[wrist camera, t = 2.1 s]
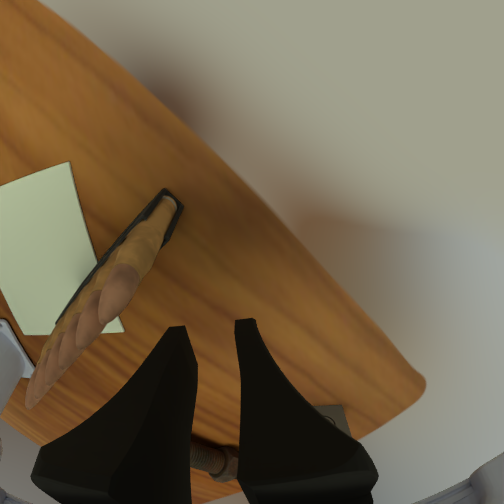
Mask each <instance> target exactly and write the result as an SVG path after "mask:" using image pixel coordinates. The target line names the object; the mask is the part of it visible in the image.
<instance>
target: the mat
mask: <svg viewBox="0 0 504 504" xmlns="http://www.w3.org/2000/svg"><path fill="white" fill-rule="evenodd" d="M97 263H98V260H97V257H96V254H95V251H94V248H93V245H92V242H91V239H90V236H89V232H88V229H87V226H86V223H85V219H84V216H83V212H82V208H81V205H80V201H79V197H78V194H77V190H76V186H75V182H74V177H73V173H72V169H71V164H70V161H69V162H65V163H62V164H59V165H56V166H53V167H50V168H47V169H45V170H42V171H39V172H36V173H33V174H31V175H28V176H25V177H23V178H20V179H17V180H15V181H12V182H10V183H7V184H5V185H2V186H0V288H1V291H2V293H3V295H4V297H5V299H6V301H7V303H8V305H9V307H10V309H11V311H12V313H13V315H14V317H15V319H16V321H17V323H18V325H19V326H20V328H21V330H22V332H23V334H24V335H50V334H51V332H52V331H53V329H54V328H55V326H56V325H55V322H56V320H57V319H58V317H59V316H60V314H61V313H62V311H63V310H64V308H65V307H66V305H67V304H68V302H69V301H70V299H71V298H72V296H73V295H74V293H75V292H76V290H77V289H78V287H79V286H80V285H81V283H82V282H83V281H84V279H85V278H86V277H87V276H88V274H89V273H90V272H91V271H92V269H93V268H94V267H95V266H96V264H97ZM124 331H125V330H124V327H123V325H122V323H121V320H120V318H119V316H117V317H116V318H115V319H114V320H113V321H111V322H109V323H107V325H106V326H105V328H104V329H103V331H102V332H101V333H115V332H124Z"/></svg>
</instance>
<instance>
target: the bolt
mask: <svg viewBox="0 0 504 504" xmlns="http://www.w3.org/2000/svg"><path fill="white" fill-rule="evenodd" d="M238 456H239V453H238V452H237V451H236V450H235V449H233V448H230V447H227V446H225V447H220V448H218V449H213V448H210V447H207V446H204V445H201V444H198V443H195V442H192V441H190V467H192V468H195V469H199V470H203V471H206V472H209V475H210V476H211V477H212V478H213V480H214V481H217V482H222V483H223V482H228V481H231V480H233V479H237V469H238Z"/></svg>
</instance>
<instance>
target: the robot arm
mask: <svg viewBox="0 0 504 504" xmlns="http://www.w3.org/2000/svg"><path fill="white" fill-rule="evenodd" d="M234 334H235V341H236V348H237V355H238V361H239V368H240V377H241V414H240V440H239V456H238V469H237V480H238V482H239V484H240V486H241V488H242V490H243V492H244V494H245V495H246V498H247V499H248V501H249V503H250V504H373V498H372V495H371V490H372V488H373V487H374V485H375V484H376V482H377V480H378V477H379V475H378V472H377V469H376V467H375V465H374V463H373V461H372V459H371V458H370V456H369V455H368V453H367V451H366V450H365V449H364V447H363V446H362V444H361V443H359V442H358V441H356V440H355V439H353V438H352V437H350V436H349V435H347V434H346V433H344V432H343V431H342V430H340V429H339V428H338V427H336V426H335V425H334V424H332V423H331V422H330V421H329V420H327V419H326V418H325V417H324V416H323V415H322V414H321V413H319V412H318V411H317V410H316V409H315V408H314V407H313V406H312V405H311V404H310V403H308V402H307V401H306V399H305V398H304V397H303V396H302V395H301V394H300V393H299V392H298V391H297V390H296V389H295V387H294V386H293V385H292V384H291V383H290V382H289V380H288V379H287V378H286V376H285V375H284V374H283V372H282V371H281V370H280V368H279V367H278V365H277V364H276V362H275V361H274V359H273V358H272V356H271V354H270V353H269V351H268V349H267V348H266V346H265V344H264V342H263V340H262V338H261V335H260V333H259V331H258V328H257V324H256V320H255V319H253V318H248V319H240V320H235V331H234ZM34 370H35V367H34V366H33V364H32V362H31V361H30V359H29V358H28V356H27V355H26V353H25V351H24V350H23V348H22V346H21V345H20V343H19V341H18V340H17V338H16V336H15V334H14V333H13V331H12V329H11V327H10V325H9V324H8V322H7V321H6V320H4V319H0V415H1V413H2V411H3V409H4V408H5V406H6V404H7V402H8V400H9V398H10V396H11V394H12V392H13V391H14V389H15V387H16V385H17V383H18V382H19V380H20V378H21V377H25V378H31V376H32V373H33V371H34ZM197 385H198V364H197V361H196V358H195V355H194V352H193V349H192V346H191V343H190V340H189V337H188V334H187V330H186V327H185V326H174V327H169V328H168V329H167V331H166V332H165V333H164V335H163V336H162V337H161V339H160V340H159V342H158V343H157V344H156V346H155V347H154V349H153V350H152V351H151V353H150V354H149V355H148V357H147V358H146V359H145V361H144V362H143V363H142V365H141V366H140V367H139V369H138V370H137V371H136V372H135V373H134V375H133V376H132V377H131V378H130V379H129V381H128V382H127V383H126V384H125V385H124V386H123V387H122V388H121V389H120V391H119V392H118V393H117V394H116V395H115V396H113V397H112V398H111V399H110V400H109V401H108V402H107V403H106V404H105V405H104V406H103V407H101V408H100V409H99V410H98V411H97V412H95V413H94V414H93V415H92V416H91V417H89V418H88V419H87V420H85V421H84V422H83V423H81V424H80V425H78V426H77V427H75V428H74V429H72V430H71V431H69V432H68V433H66V434H65V435H63V436H61V437H59V438H57V439H56V440H54V441H52V442H50V443H48V444H46V445H44V446H42V447H41V449H40V451H39V454H38V456H37V459H36V462H35V465H34V468H33V471H32V474H31V480H32V482H33V483H34V484H35V485H36V486H37V487H38V488H39V489H41V490H42V491H43V492H45V493H46V494H48V495H49V496H51V497H52V498H54V499H55V500H56V501H58V502H59V503H61V504H192V500H191V483H190V441H191V431H192V424H193V417H194V409H195V402H196V395H197ZM1 456H2V444H1V439H0V460H1ZM0 504H31V503H29V502H27V501H24V500H22V499H20V498H17V497H15V496H13V495H10V494H8V493H6V492H5V491H4V490H3V489H2V488H1V487H0ZM413 504H504V452H503V453H502V454H500V455H498V456H497V457H495V458H494V459H492V460H490V461H489V462H487V463H485V464H484V465H482V466H481V467H479V468H478V469H477V470H476V471H474V472H473V473H472V474H471V476H470V477H469V478H468V479H466V480H464V481H462V482H460V483H458V484H456V485H454V486H452V487H450V488H448V489H446V490H443V491H441V492H439V493H437V494H435V495H432V496H430V497H428V498H425V499H423V500H421V501H418V502H415V503H413Z"/></svg>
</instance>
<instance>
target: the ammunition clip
mask: <svg viewBox="0 0 504 504" xmlns="http://www.w3.org/2000/svg"><path fill="white" fill-rule="evenodd" d="M183 208H184V206H183V205H182V204H181V203H180V202H179V201H178V200H177V199H176V198H175V197H174V196H173V195H172V194H171V193H170V192H169V191H168V190H167V189H165V188H164V189H162V190H161V191H160V192H159V193H158V194H157V195H156V196H155V198H154V199H153V200H152V201H151V202H150V203H149V204H148V205H147V206H146V207H145V208H144V209H143V211H142V212H141V213H140V214H139V215H138V216H137V217H136V218H135V219H134V221H133V222H132V223H131V224H130V225H129V226H128V227H127V229H126V230H125V231H124V232H123V233H122V234H121V235H120V237H119V238H118V239H117V240H116V241H115V242H114V244H113V245H112V246H111V247H110V248H109V250H108V251H107V252H106V253H105V254H104V256H103V257H102V258H101V259H100V261H99V262H98V263H97V264H96V266H95V267H94V268H93V269H92V271H91V272H90V273H89V274H88V276H87V277H86V278H85V279H84V281H83V282H82V283H81V285H80V286H79V287H78V289H77V290H76V292H75V293H74V295H73V296H72V298H71V299H70V301H69V302H68V304H67V305H66V307H65V308H64V310H63V311H62V313H61V314H60V316H59V317H58V319H57V320H56V322H55V325H56V326H55V328H54V329H53V331H52V332H51V334H50V336H49V337H48V339H47V341H46V343H45V344H44V346H43V349H42V353H41V356H40V358H39V360H38V362H37V364H36V368H35V370H34V371H33V373H32V376H31V378H30V381H29V384H28V387H27V392H26V397H25V406H26V409H28V410H29V409H31V408H33V407H34V406H35V405H36V404H37V403H38V402H39V401H40V400H41V398H42V397H43V396H44V395H45V394H46V393H47V392H48V390H49V389H50V388H51V387H52V386H53V384H54V383H55V382H56V381H57V380H58V379H59V378H60V377H61V376H62V375H63V374H64V372H65V371H66V370H67V369H68V367H69V366H70V365H72V364H73V363H74V362H75V361H76V359H77V358H78V357H79V356H80V355H81V354H82V352H83V351H84V350H85V348H86V347H87V346H89V345H90V344H91V343H92V342H93V341H94V340H95V339H96V338H97V337H98V336H99V335H100V333H101V332H102V331H103V329H104V328H105V326H106V325H107V323H109V322H111V321H113V320H114V319H115V318H116V317H117V316H118V315H119V314H120V313H121V312H122V311H123V310H124V309H125V307H126V306H127V305H128V303H129V302H130V300H131V299H132V297H133V295H134V293H135V291H136V289H137V287H138V286H139V284H140V282H141V281H142V279H143V277H144V276H145V275H146V274H147V273H148V272H149V270H150V269H151V267H152V265H153V263H154V260H155V258H156V256H157V254H158V251H159V250H160V249H161V248H162V247H163V246H164V245H165V244H166V243H167V242H168V241H169V240H170V237H171V235H172V233H173V230H174V228H175V226H176V224H177V221H178V219H179V217H180V215H181V213H182V210H183Z"/></svg>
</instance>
